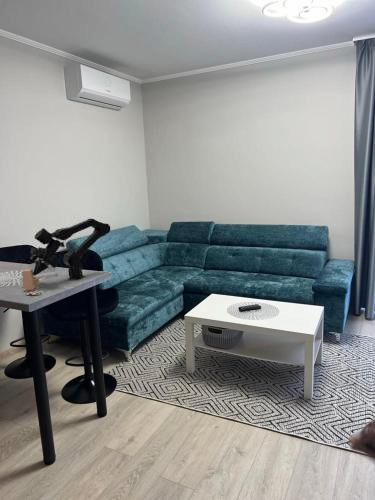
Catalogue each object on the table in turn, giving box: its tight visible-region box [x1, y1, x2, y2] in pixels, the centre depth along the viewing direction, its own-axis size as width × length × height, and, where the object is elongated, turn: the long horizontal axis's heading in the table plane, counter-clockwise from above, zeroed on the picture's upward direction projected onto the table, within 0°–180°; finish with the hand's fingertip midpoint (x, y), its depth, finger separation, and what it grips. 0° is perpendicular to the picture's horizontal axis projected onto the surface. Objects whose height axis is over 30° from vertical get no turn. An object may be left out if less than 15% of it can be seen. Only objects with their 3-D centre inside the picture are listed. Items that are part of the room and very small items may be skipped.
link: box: [21, 268, 40, 292], centre depth 190 cm, size 14×5×10 cm, turn 11°
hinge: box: [25, 262, 58, 280], centre depth 210 cm, size 17×5×10 cm, turn 113°
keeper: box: [18, 276, 25, 288], centre depth 192 cm, size 6×2×5 cm, turn 77°
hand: (33, 275), depth 186 cm, fingers closed
